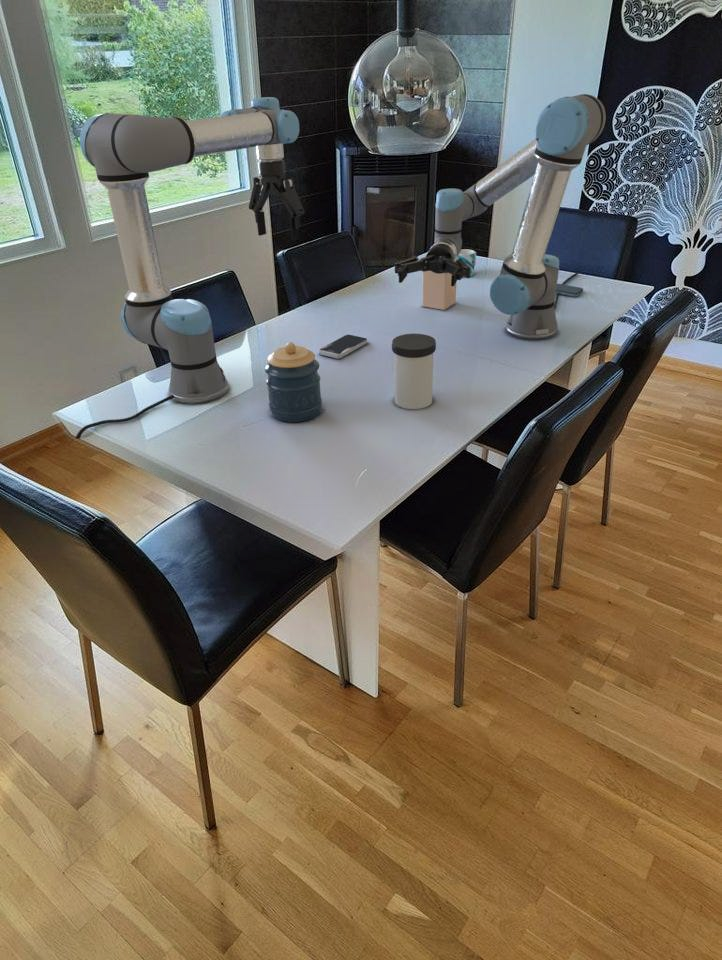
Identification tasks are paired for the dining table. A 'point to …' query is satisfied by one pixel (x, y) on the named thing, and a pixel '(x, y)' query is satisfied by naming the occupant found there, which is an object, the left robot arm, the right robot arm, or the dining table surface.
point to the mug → (468, 258)
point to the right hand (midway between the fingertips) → (426, 279)
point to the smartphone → (342, 346)
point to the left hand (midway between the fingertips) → (278, 237)
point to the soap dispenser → (438, 290)
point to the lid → (413, 345)
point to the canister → (293, 384)
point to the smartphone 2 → (568, 290)
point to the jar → (413, 381)
